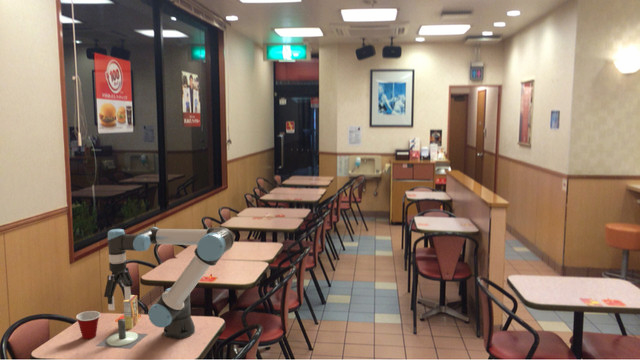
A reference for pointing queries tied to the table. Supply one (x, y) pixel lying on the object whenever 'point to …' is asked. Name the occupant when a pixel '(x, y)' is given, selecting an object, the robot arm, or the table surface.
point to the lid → (122, 336)
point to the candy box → (131, 312)
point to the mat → (104, 344)
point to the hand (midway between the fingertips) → (120, 304)
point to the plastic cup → (88, 323)
